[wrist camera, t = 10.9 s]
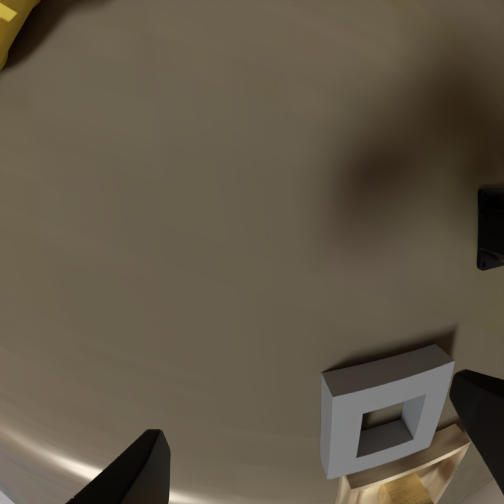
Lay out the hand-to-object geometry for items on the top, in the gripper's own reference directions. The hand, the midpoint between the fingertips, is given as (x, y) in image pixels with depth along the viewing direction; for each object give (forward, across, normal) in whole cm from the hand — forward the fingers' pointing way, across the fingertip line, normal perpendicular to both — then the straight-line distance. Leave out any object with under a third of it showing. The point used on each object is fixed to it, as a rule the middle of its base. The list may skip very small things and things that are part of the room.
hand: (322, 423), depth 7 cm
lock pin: (+11, -12, +26) cm, 31 cm away
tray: (+12, -12, +26) cm, 31 cm away
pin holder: (+12, -8, +12) cm, 19 cm away
